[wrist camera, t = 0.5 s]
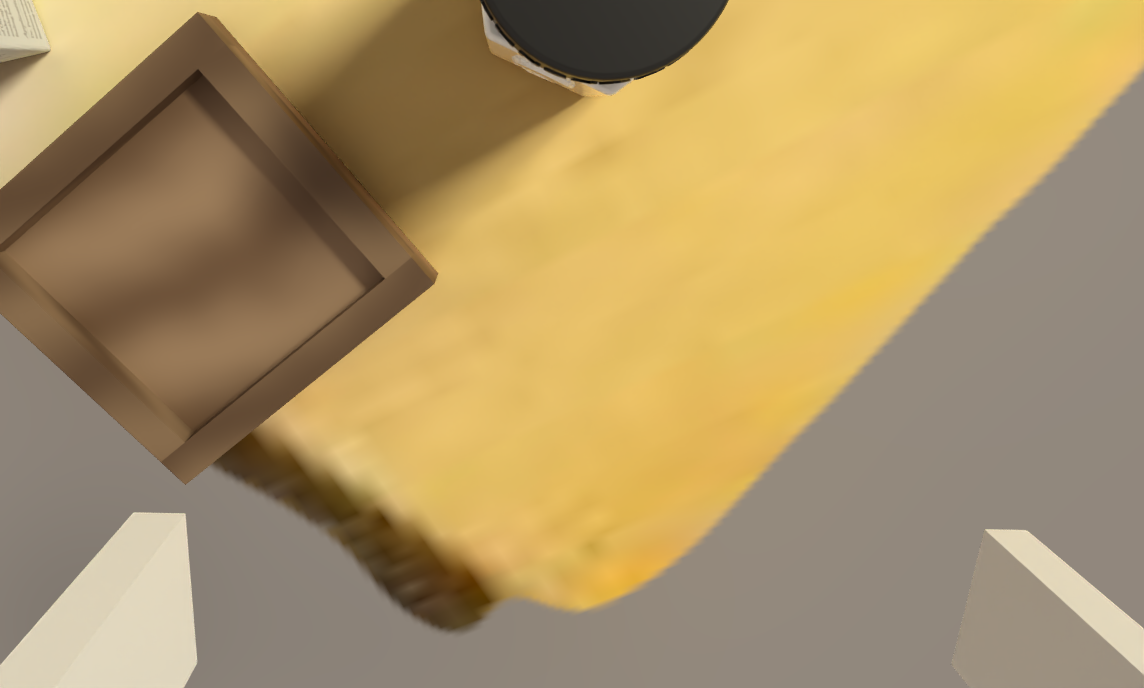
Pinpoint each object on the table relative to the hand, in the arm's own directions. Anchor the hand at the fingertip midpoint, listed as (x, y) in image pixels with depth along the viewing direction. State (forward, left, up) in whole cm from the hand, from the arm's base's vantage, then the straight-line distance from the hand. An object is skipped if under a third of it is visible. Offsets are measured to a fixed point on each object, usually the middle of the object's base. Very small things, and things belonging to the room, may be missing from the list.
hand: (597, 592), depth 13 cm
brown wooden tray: (-3, -15, -26) cm, 30 cm away
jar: (-12, +3, -26) cm, 29 cm away
